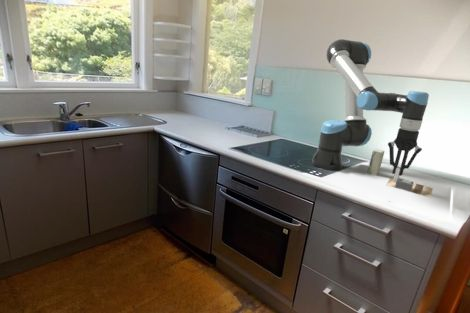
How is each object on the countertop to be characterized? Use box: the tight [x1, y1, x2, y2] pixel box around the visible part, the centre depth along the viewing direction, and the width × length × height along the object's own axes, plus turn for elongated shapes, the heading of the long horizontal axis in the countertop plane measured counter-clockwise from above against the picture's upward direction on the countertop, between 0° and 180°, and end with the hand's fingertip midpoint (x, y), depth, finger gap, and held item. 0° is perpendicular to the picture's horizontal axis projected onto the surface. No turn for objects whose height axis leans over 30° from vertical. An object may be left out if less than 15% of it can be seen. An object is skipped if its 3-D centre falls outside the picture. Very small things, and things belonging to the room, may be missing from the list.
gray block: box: [395, 177, 415, 193], centre depth 126 cm, size 6×5×3 cm
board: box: [385, 176, 434, 198], centre depth 129 cm, size 17×14×1 cm
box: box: [367, 148, 385, 176], centre depth 141 cm, size 5×4×13 cm
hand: (395, 181), depth 128 cm, fingers closed
